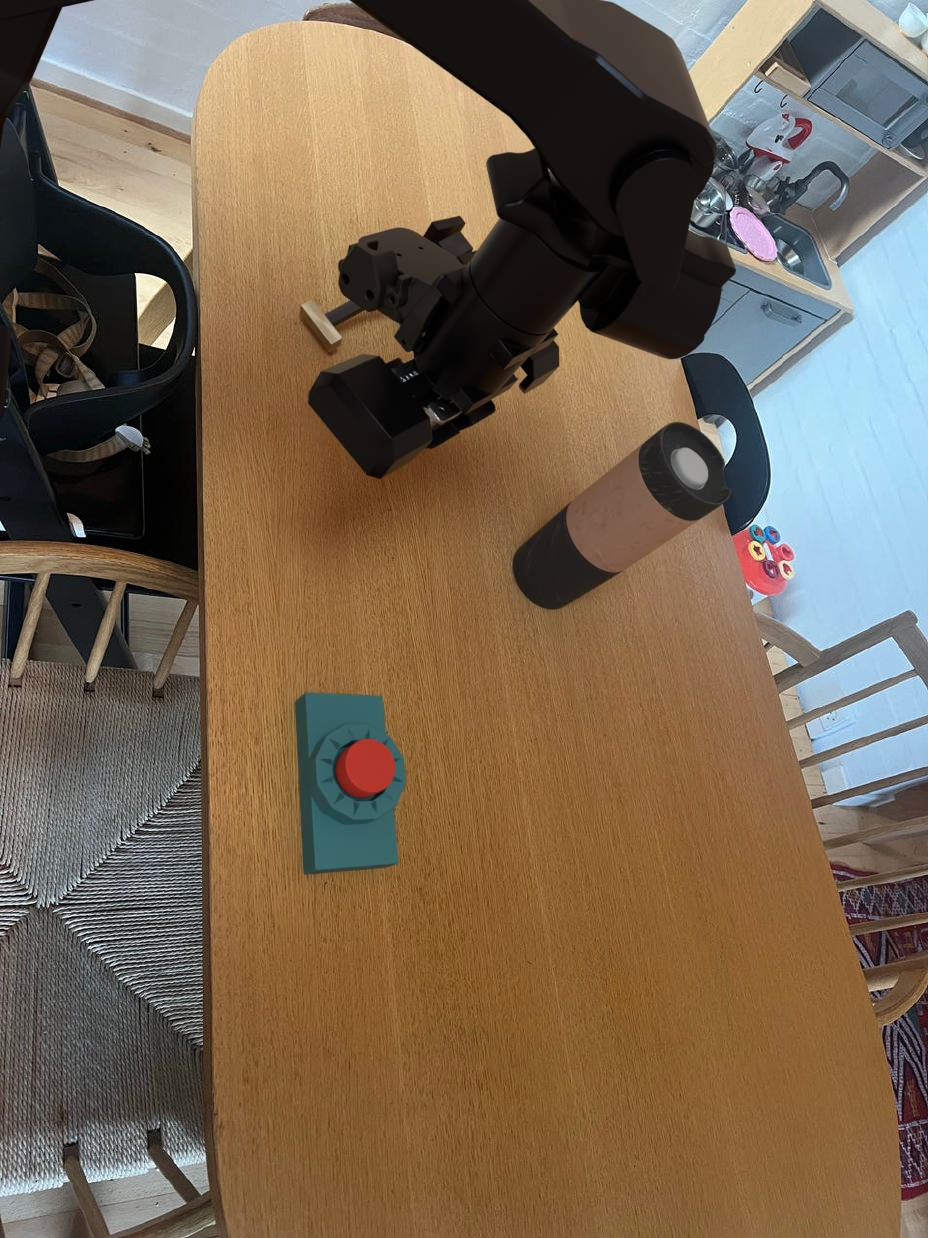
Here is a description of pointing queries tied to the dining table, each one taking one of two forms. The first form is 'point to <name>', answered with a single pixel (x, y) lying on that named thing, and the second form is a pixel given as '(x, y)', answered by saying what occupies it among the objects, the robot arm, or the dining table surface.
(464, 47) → the robot arm
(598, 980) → the dining table surface
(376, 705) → the button block
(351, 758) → the button
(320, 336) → the lever
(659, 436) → the travel mug
